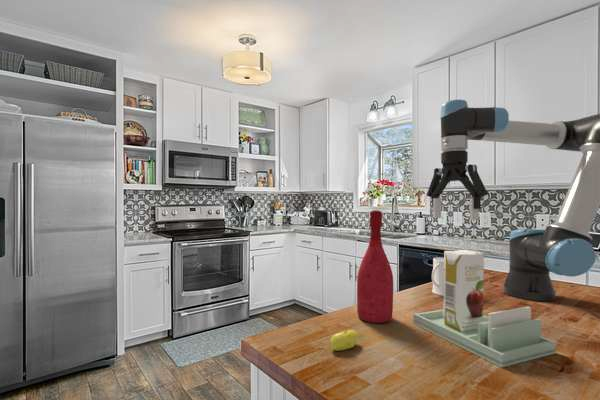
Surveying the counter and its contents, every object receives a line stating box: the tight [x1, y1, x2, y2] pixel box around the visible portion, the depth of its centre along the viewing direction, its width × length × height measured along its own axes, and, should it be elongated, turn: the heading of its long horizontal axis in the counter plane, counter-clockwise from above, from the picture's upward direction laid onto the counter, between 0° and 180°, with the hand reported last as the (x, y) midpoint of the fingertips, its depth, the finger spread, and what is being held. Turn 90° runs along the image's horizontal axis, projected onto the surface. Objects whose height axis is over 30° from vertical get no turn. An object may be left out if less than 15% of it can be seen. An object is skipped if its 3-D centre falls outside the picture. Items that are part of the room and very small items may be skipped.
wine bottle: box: [356, 209, 394, 324], centre depth 92 cm, size 10×10×30 cm
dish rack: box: [413, 306, 557, 368], centre depth 81 cm, size 17×25×9 cm
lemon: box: [329, 329, 360, 352], centre depth 74 cm, size 4×8×4 cm, turn 124°
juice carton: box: [442, 249, 485, 332], centre depth 85 cm, size 8×9×19 cm
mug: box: [431, 257, 444, 297], centre depth 118 cm, size 12×8×12 cm
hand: (454, 219), depth 104 cm, fingers open, 13 cm apart
